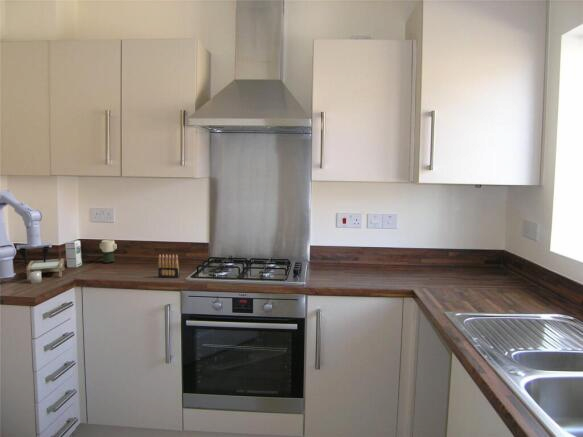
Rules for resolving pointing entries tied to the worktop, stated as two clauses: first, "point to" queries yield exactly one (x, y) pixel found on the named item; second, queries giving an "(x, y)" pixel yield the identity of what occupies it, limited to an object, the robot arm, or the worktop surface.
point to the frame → (59, 268)
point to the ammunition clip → (168, 267)
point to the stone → (35, 277)
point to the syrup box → (73, 253)
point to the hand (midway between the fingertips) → (35, 262)
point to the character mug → (108, 250)
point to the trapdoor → (45, 264)
